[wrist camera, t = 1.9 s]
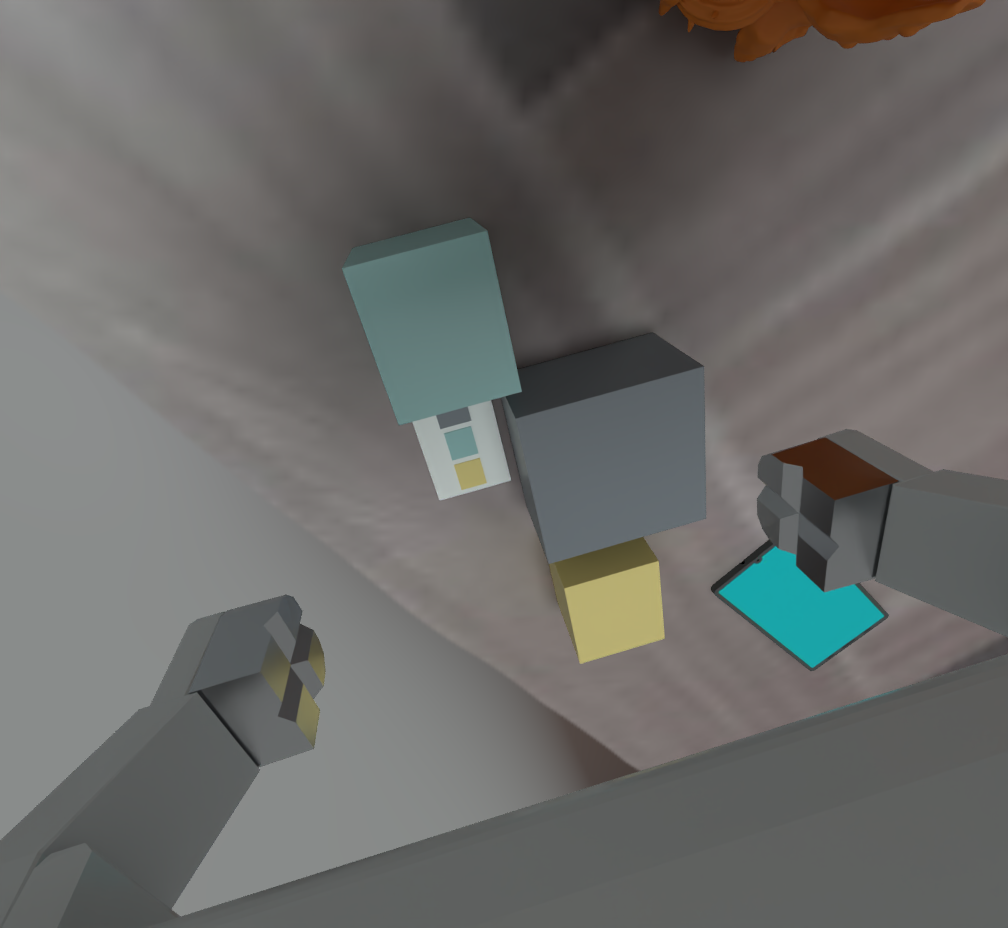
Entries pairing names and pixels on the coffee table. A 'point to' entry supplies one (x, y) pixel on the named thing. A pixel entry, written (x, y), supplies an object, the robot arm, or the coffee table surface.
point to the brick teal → (434, 319)
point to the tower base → (610, 444)
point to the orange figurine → (814, 19)
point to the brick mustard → (610, 599)
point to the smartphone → (797, 606)
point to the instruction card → (463, 450)
